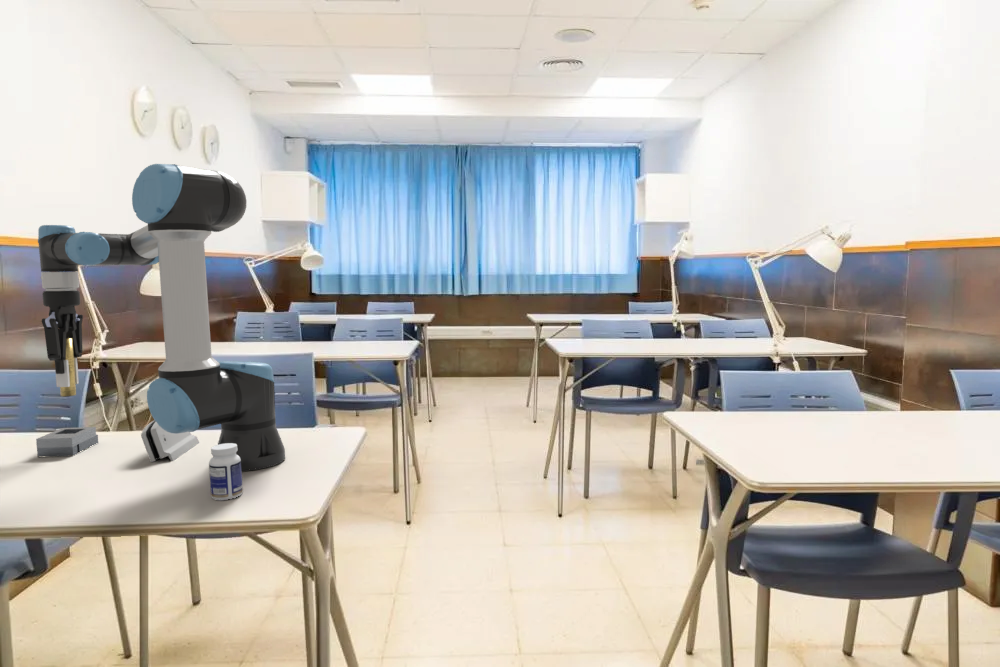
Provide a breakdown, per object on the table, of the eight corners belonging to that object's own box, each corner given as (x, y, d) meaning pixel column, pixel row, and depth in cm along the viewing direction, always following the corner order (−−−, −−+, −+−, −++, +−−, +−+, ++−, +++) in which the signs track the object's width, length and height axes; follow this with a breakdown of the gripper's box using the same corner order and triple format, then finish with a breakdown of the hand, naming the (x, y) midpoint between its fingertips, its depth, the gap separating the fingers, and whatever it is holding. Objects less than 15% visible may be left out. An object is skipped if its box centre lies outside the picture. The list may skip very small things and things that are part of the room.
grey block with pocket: (65, 444, 167) (64, 427, 167) (98, 443, 168) (97, 426, 167) (37, 457, 156) (36, 438, 155) (73, 455, 156) (71, 437, 156)
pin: (71, 396, 160) (67, 339, 159) (57, 396, 160) (53, 339, 158) (78, 393, 163) (75, 337, 162) (65, 394, 163) (61, 338, 162)
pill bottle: (237, 489, 131) (234, 440, 130) (246, 496, 127) (244, 446, 126) (207, 495, 128) (204, 445, 127) (215, 503, 123) (213, 451, 122)
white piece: (172, 461, 151) (154, 421, 150) (153, 468, 151) (135, 429, 150) (200, 442, 168) (184, 406, 167) (182, 448, 168) (166, 413, 166)
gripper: (64, 288, 167) (70, 379, 169) (23, 291, 151) (31, 391, 153) (94, 288, 167) (100, 379, 170) (57, 290, 151) (64, 391, 154)
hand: (67, 385), depth 161 cm, fingers closed on pin, 3 cm apart
